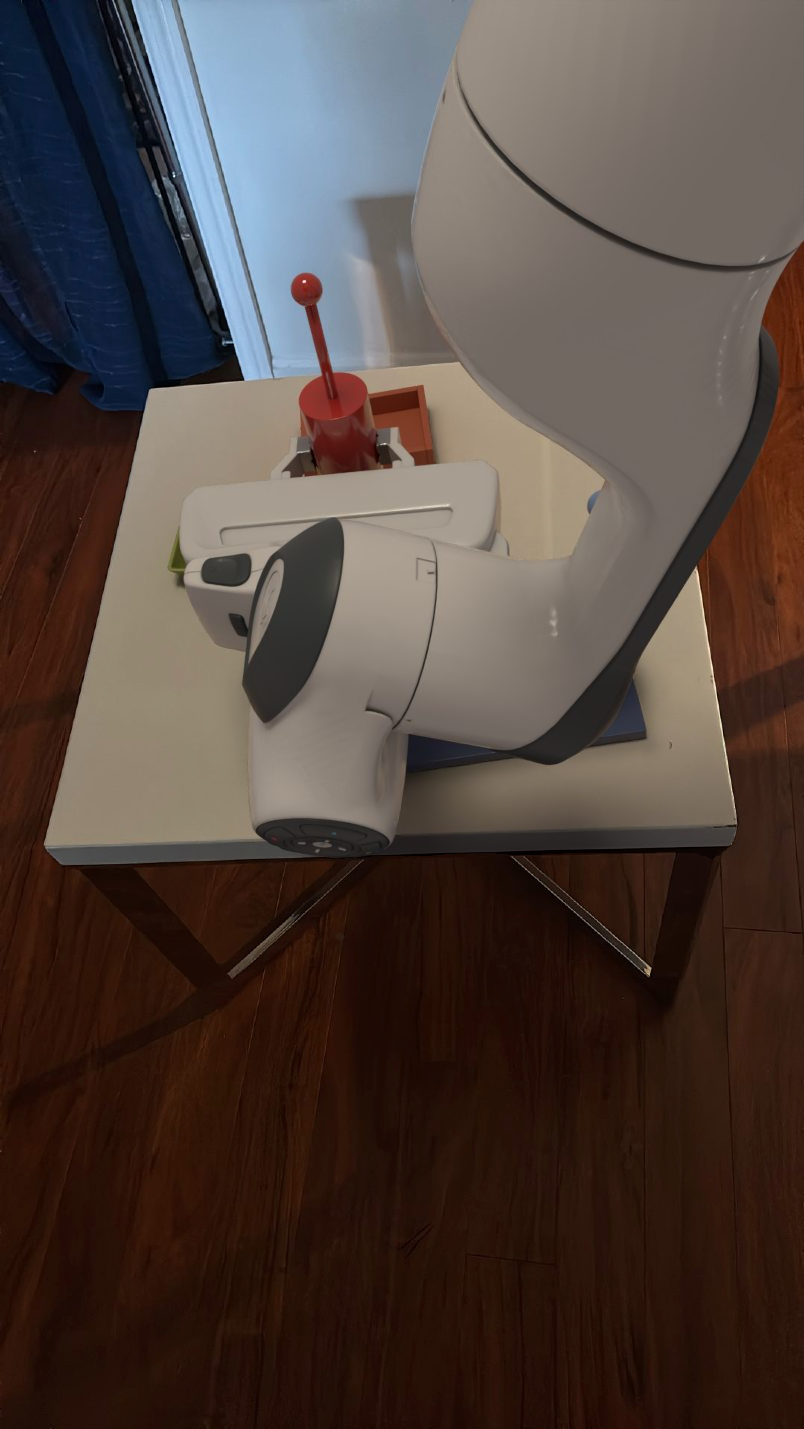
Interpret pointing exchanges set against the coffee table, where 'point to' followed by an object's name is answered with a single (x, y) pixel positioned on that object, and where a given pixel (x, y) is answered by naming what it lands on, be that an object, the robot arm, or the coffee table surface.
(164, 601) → the coffee table surface
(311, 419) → the red ball-topped plunger
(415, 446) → the red tray
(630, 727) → the navy board
